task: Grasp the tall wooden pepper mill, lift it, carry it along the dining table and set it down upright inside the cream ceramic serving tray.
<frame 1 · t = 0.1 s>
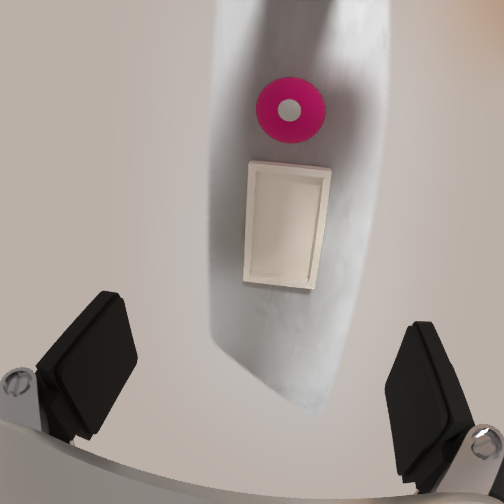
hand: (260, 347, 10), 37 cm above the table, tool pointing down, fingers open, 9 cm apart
tray: (285, 224, 47), on the table
pepper mill: (294, 109, 40), on the table
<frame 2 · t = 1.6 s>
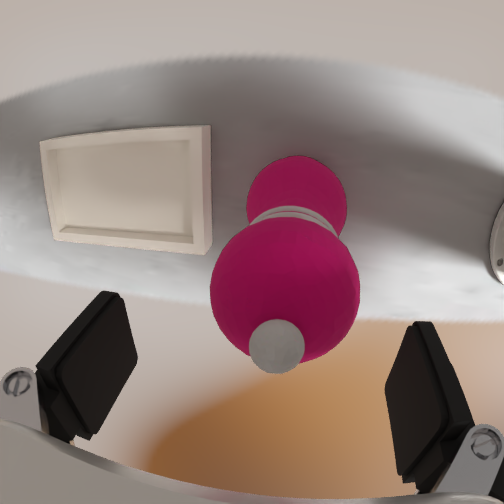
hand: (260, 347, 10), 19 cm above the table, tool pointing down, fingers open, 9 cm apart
tray: (124, 185, 29), on the table
pepper mill: (298, 190, 27), on the table
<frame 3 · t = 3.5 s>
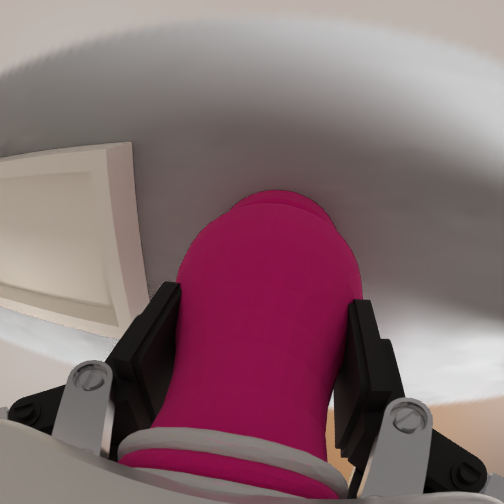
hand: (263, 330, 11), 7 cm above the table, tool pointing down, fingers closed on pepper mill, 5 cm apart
tray: (33, 231, 19), on the table
pepper mill: (278, 247, 17), on the table, touching gripper
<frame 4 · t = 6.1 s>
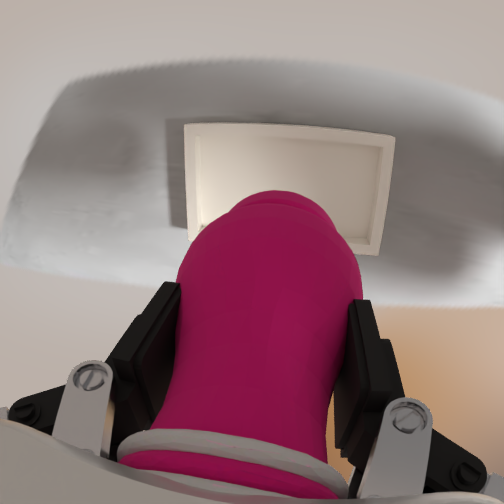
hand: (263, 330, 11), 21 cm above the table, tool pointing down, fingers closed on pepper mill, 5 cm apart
tray: (287, 183, 29), on the table
pepper mill: (278, 247, 17), point 14 cm above the table, touching gripper
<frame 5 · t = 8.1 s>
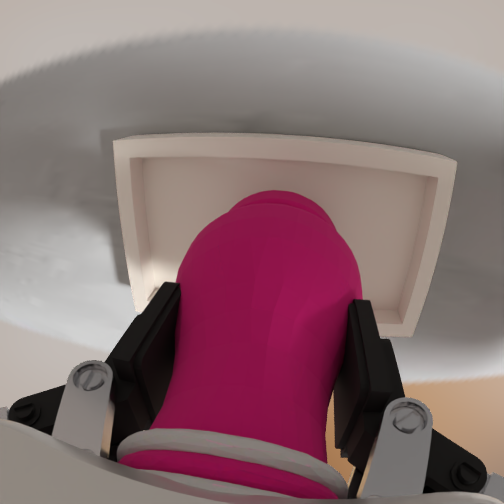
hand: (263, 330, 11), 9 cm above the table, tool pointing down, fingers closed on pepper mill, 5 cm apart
tray: (280, 228, 19), on the table
pepper mill: (277, 247, 17), point 3 cm above the table, touching gripper
when the fingers open (9 cm above the table, at t = 9.1 s): pepper mill drops 1 cm, resting on tray.
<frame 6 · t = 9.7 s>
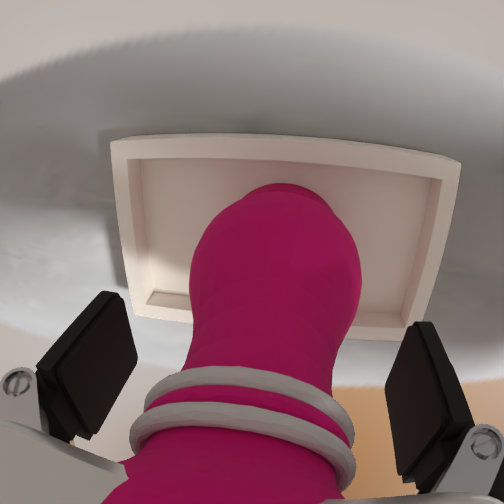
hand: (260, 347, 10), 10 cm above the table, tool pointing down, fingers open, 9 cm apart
tray: (281, 231, 19), on the table
pepper mill: (283, 236, 18), point 1 cm above the table, touching tray
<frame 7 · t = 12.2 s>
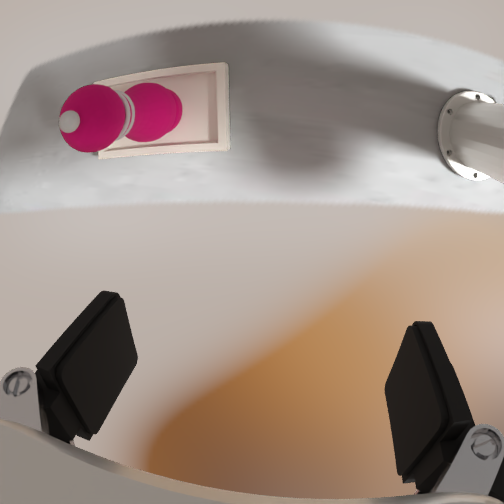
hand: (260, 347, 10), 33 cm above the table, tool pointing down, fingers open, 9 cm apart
tray: (161, 111, 38), on the table
pepper mill: (160, 111, 37), point 1 cm above the table, touching tray
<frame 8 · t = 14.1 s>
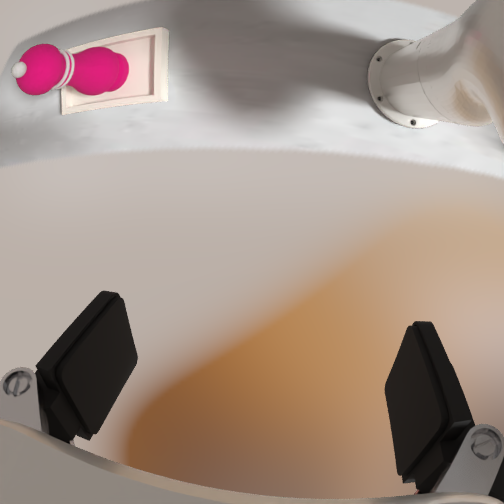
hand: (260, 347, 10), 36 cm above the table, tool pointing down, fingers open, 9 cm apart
tray: (114, 72, 40), on the table
pepper mill: (112, 72, 39), point 1 cm above the table, touching tray
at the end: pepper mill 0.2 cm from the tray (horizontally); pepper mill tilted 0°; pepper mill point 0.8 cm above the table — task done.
